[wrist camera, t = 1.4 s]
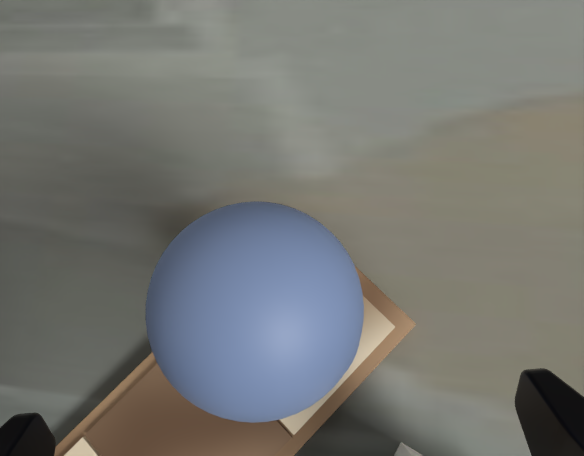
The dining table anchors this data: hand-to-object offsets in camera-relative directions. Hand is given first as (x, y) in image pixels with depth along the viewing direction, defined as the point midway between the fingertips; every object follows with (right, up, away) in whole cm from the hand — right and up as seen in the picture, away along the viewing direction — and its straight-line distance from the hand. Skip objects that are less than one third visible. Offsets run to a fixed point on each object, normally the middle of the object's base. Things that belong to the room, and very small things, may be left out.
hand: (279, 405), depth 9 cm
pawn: (0, 0, +9) cm, 9 cm away
